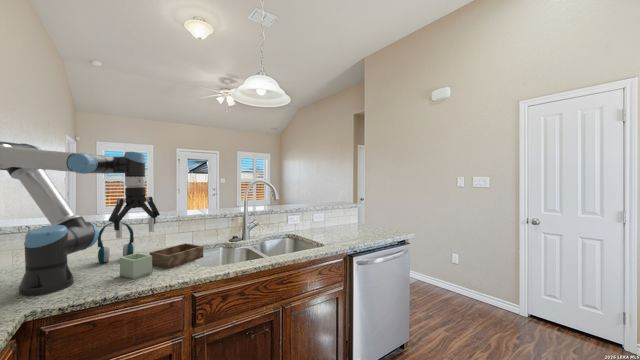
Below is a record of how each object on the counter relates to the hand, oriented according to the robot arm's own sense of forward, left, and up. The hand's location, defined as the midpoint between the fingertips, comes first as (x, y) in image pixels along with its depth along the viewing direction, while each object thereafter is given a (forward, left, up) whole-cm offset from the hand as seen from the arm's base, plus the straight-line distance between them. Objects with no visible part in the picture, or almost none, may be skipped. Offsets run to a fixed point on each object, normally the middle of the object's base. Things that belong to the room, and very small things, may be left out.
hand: (136, 234), depth 121 cm
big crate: (+21, +1, -18) cm, 27 cm away
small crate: (0, 0, -18) cm, 18 cm away
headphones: (+7, +29, -18) cm, 35 cm away
